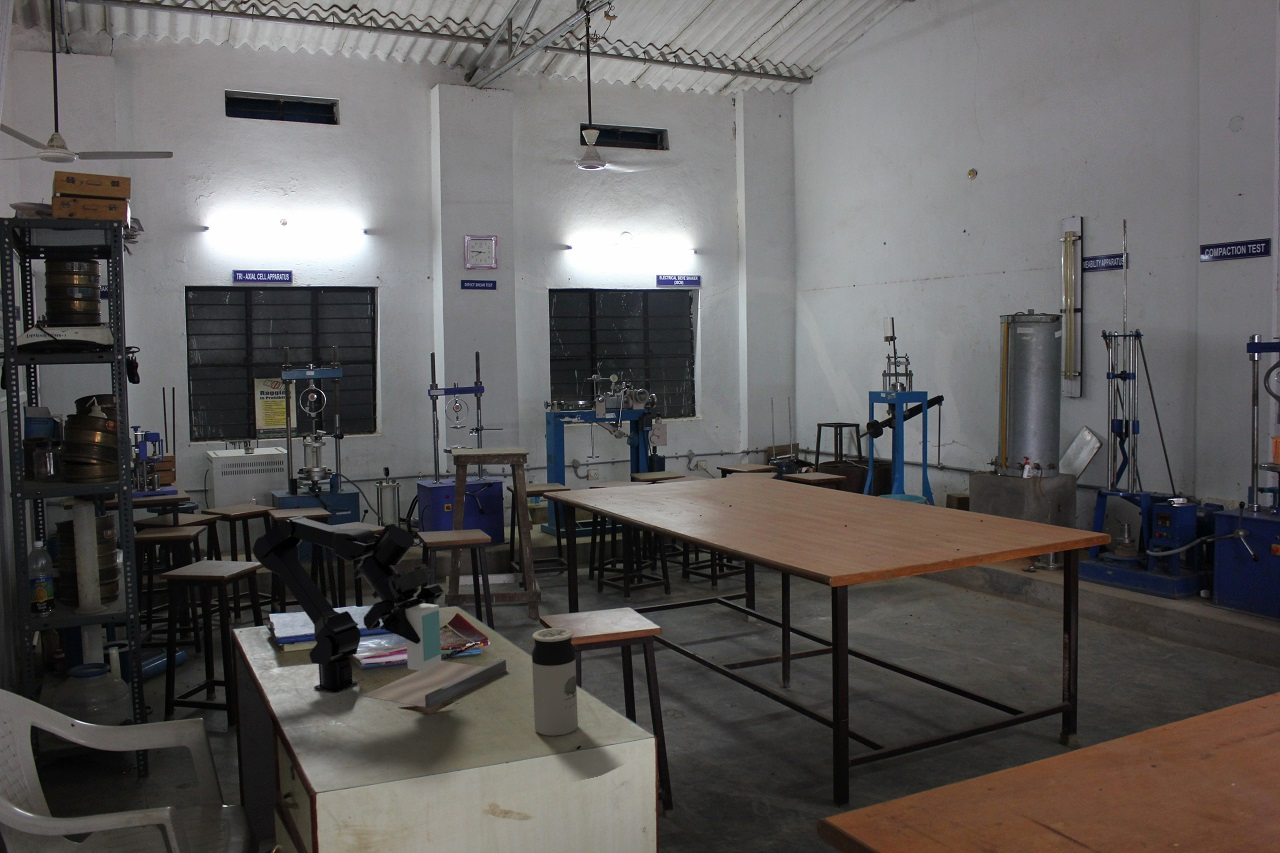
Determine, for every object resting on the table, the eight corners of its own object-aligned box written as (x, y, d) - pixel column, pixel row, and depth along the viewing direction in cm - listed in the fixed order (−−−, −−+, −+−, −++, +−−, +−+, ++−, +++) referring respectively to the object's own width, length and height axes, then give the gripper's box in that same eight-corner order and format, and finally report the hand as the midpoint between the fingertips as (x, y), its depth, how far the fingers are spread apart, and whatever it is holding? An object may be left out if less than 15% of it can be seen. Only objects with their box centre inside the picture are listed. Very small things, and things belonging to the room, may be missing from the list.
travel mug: (526, 730, 177) (522, 634, 175) (557, 717, 182) (554, 625, 181) (554, 740, 171) (551, 642, 170) (586, 727, 177) (583, 632, 176)
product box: (407, 668, 191) (405, 609, 190) (426, 660, 196) (423, 603, 195) (424, 671, 189) (421, 611, 188) (442, 663, 194) (439, 605, 193)
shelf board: (362, 701, 195) (361, 684, 195) (442, 665, 217) (441, 650, 217) (430, 714, 186) (429, 696, 186) (506, 675, 208) (505, 659, 208)
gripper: (371, 563, 184) (418, 625, 180) (434, 545, 201) (479, 602, 196) (343, 599, 189) (388, 661, 184) (407, 579, 205) (450, 635, 201)
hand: (428, 638), depth 191 cm, fingers closed on product box, 5 cm apart
